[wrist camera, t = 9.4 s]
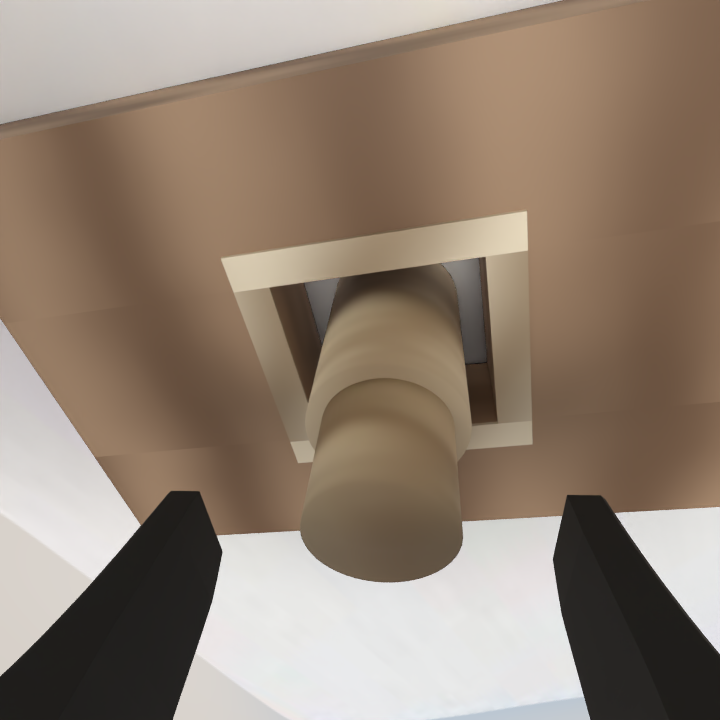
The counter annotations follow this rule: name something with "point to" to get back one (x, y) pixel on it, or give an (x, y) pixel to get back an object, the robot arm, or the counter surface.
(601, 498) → the robot arm
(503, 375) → the socket board
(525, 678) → the counter surface
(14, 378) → the counter surface
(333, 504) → the beech peg
